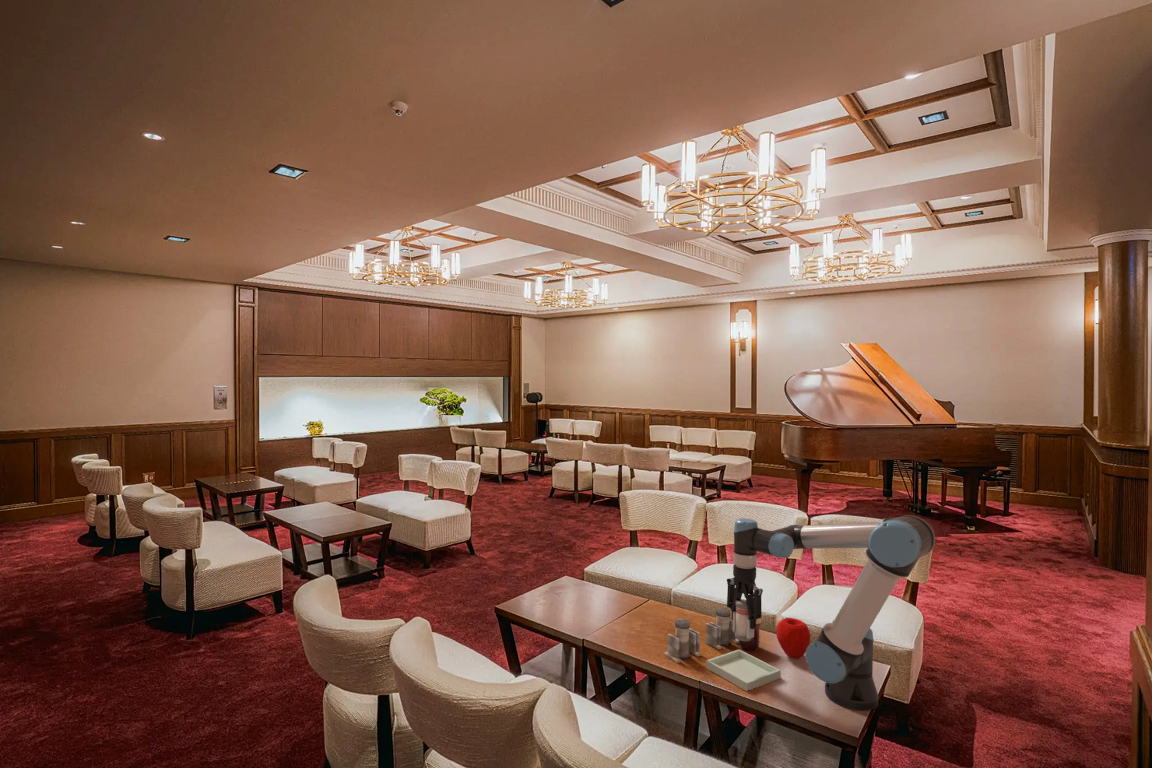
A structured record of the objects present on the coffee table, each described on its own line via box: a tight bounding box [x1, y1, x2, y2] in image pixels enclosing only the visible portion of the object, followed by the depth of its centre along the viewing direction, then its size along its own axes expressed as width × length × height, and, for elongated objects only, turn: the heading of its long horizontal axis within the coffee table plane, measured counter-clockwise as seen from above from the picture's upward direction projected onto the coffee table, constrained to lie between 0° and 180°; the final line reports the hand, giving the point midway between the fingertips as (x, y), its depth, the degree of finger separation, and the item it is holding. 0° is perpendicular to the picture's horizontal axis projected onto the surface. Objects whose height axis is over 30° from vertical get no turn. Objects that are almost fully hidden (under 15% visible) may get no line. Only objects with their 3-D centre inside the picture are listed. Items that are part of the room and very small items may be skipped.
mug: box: [738, 618, 763, 652], centre depth 209 cm, size 12×9×10 cm
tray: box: [705, 649, 782, 692], centre depth 191 cm, size 18×17×3 cm
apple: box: [775, 617, 811, 660], centre depth 204 cm, size 12×12×13 cm
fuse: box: [735, 598, 751, 641], centre depth 191 cm, size 5×5×12 cm
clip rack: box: [663, 607, 739, 664], centre depth 209 cm, size 7×32×12 cm, turn 123°
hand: (743, 633), depth 191 cm, fingers closed on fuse, 5 cm apart
